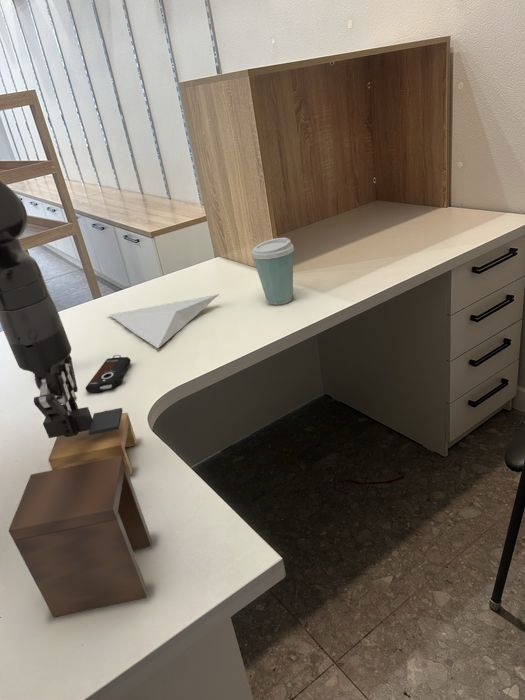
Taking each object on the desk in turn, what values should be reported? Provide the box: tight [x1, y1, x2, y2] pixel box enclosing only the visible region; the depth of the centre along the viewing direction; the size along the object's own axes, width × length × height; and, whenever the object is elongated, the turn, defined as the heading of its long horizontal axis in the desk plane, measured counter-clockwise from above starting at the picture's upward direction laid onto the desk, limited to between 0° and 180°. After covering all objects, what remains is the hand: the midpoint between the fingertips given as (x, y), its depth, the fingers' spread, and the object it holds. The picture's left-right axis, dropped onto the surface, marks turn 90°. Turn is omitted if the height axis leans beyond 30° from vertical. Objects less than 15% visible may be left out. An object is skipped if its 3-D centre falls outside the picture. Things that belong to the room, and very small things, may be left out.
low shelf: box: [47, 411, 138, 477], centre depth 85 cm, size 11×9×6 cm
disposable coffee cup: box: [251, 237, 295, 306], centre depth 132 cm, size 11×11×15 cm
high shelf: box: [7, 456, 152, 618], centre depth 63 cm, size 11×9×14 cm
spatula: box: [42, 406, 124, 439], centre depth 82 cm, size 11×5×3 cm, turn 97°
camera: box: [84, 354, 131, 393], centre depth 111 cm, size 6×3×11 cm
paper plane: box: [109, 293, 220, 349], centre depth 135 cm, size 26×28×4 cm
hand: (74, 428), depth 83 cm, fingers closed on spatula, 2 cm apart
